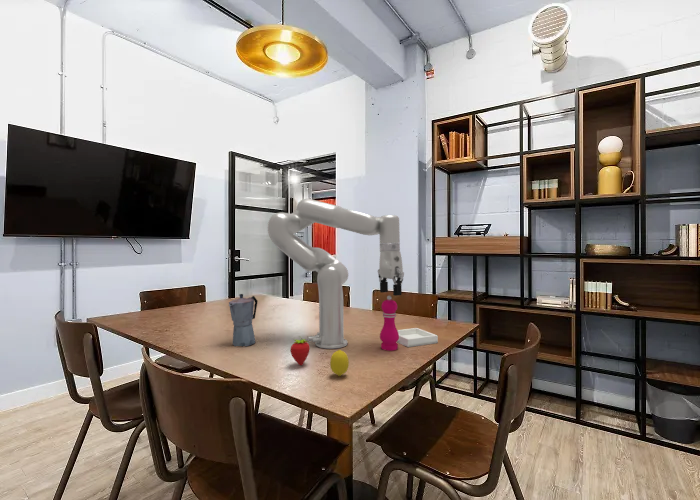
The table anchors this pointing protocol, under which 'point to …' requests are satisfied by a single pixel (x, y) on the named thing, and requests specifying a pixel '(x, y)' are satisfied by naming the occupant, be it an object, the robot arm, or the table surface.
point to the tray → (416, 337)
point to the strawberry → (300, 351)
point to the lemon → (339, 362)
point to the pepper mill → (389, 325)
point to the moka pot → (243, 320)
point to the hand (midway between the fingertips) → (390, 293)
